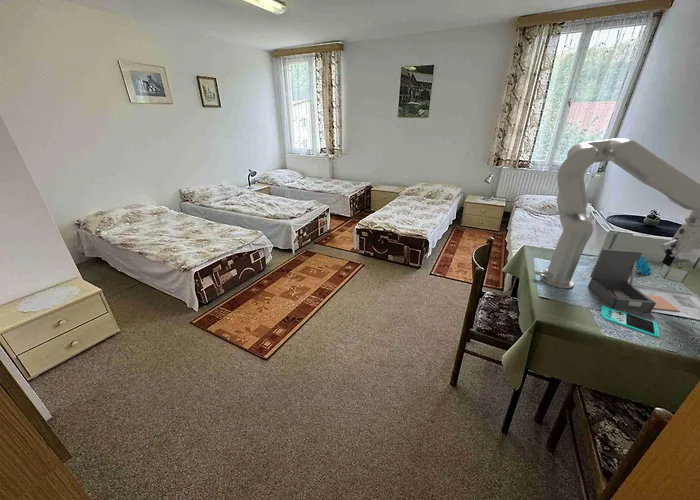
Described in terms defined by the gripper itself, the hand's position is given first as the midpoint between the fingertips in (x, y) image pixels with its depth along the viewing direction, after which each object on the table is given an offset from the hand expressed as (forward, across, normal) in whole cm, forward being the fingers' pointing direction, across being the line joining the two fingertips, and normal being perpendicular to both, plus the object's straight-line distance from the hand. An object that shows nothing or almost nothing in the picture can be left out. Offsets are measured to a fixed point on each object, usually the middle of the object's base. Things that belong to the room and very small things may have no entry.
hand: (677, 265), depth 110 cm
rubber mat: (+18, 0, 0) cm, 18 cm away
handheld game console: (+18, -20, -15) cm, 31 cm away
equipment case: (+18, -14, 0) cm, 23 cm away
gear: (+18, +12, +29) cm, 36 cm away
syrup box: (+6, 0, 0) cm, 6 cm away
